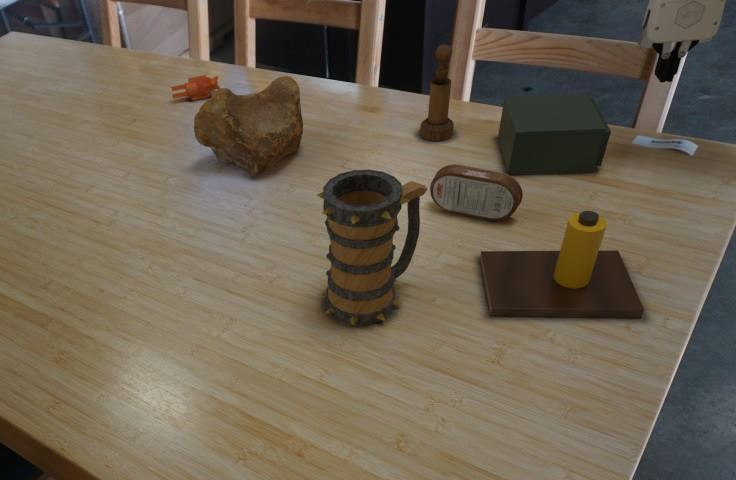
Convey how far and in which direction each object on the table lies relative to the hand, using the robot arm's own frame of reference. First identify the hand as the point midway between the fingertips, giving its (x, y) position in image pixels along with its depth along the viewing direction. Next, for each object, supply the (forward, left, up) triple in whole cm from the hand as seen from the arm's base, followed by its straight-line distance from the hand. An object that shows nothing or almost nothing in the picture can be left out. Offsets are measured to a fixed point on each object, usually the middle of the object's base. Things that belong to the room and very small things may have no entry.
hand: (663, 79), depth 115 cm
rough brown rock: (+72, -1, -14) cm, 73 cm away
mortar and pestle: (+36, -10, -14) cm, 40 cm away
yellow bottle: (+20, +40, -12) cm, 46 cm away
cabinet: (+17, 0, -14) cm, 22 cm away
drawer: (+14, 0, -13) cm, 19 cm away
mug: (+49, +43, -14) cm, 66 cm away
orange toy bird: (+92, -35, -14) cm, 99 cm away
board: (+22, +40, -14) cm, 47 cm away
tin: (+32, +20, -14) cm, 40 cm away
